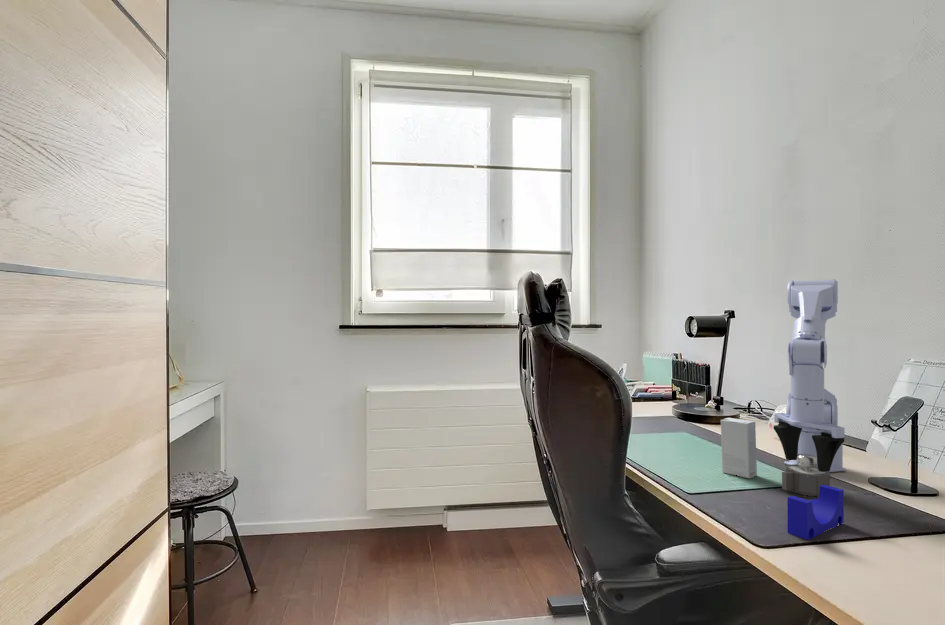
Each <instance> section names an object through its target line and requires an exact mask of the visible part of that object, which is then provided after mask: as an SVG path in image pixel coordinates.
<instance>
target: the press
mask: <svg viewBox="0 0 945 625" xmlns="http://www.w3.org/2000/svg"><path fill="white" fill-rule="evenodd" d="M830 475H831V474H830V472H829V471H826V472H821V471H818V467H817V468H810V471H805V470H804V467H801V466H799V465H798V464H792V465H787V464H785V471H782V472H781V489H782V490H785V491H789V492H792V493H794V492H795V493H794V494H797V493H798V495H801V494H802V496H806V495H808V496H807V497H812V496H817V497H816V498H819V492H820V486H822V485H827V486H830V484H831V483H830V480H831V478H830V477H831V476H830Z"/></svg>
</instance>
